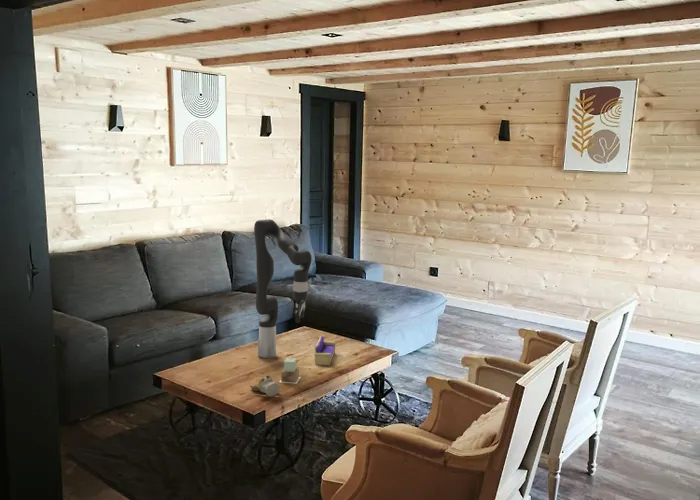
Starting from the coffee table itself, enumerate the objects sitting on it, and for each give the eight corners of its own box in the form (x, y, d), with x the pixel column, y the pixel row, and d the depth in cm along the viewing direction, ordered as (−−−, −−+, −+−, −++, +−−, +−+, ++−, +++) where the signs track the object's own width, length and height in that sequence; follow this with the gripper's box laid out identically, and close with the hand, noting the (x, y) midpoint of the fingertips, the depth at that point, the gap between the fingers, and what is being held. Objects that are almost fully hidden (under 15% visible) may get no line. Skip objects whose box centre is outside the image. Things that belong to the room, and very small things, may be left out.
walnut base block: (281, 381, 297) (281, 371, 296) (284, 376, 303) (284, 366, 303) (295, 382, 296) (295, 372, 295) (298, 377, 303) (298, 367, 302)
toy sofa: (330, 366, 322) (330, 347, 321) (314, 365, 323) (314, 346, 321) (335, 353, 343) (335, 335, 341) (320, 352, 344) (320, 334, 342)
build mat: (275, 384, 295) (275, 383, 295) (281, 375, 306) (281, 374, 306) (299, 386, 293) (299, 385, 293) (304, 377, 305) (304, 376, 305)
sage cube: (284, 371, 297) (284, 361, 296) (286, 367, 302) (286, 358, 301) (294, 371, 296) (294, 362, 295) (296, 368, 301) (296, 358, 300)
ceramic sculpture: (265, 382, 274) (248, 374, 286) (266, 400, 275) (248, 392, 287) (285, 377, 281) (267, 369, 293) (285, 395, 282) (268, 387, 293)
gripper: (296, 285, 317) (296, 315, 320) (289, 292, 304) (288, 323, 306) (310, 286, 316) (309, 316, 319) (304, 293, 302) (303, 324, 305)
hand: (299, 320), depth 313 cm, fingers open, 8 cm apart
